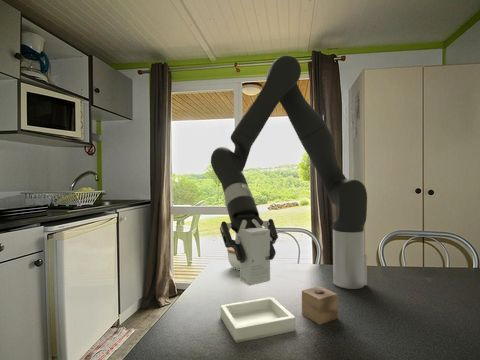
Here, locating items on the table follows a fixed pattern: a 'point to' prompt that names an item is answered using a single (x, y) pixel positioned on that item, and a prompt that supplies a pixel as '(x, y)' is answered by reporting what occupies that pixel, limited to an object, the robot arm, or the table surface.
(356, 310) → the table surface
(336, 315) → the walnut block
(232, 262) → the lidded jar
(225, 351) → the table surface
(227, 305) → the tray
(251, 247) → the skincare box
